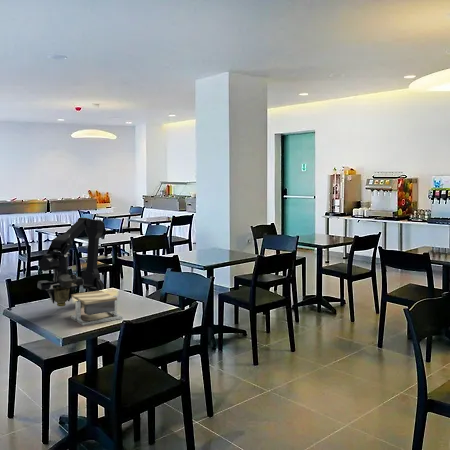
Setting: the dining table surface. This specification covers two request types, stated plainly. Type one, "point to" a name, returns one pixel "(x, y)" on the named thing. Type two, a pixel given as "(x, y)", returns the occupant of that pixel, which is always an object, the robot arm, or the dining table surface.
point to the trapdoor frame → (78, 318)
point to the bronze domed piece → (61, 295)
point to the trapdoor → (96, 302)
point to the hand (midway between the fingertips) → (61, 302)
